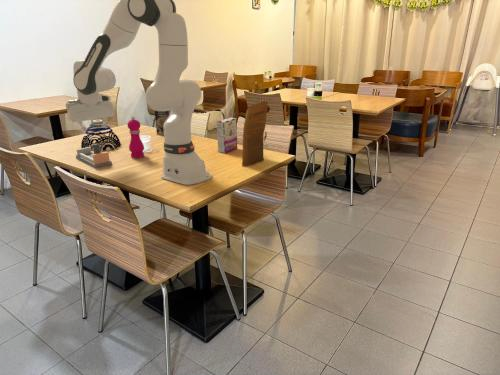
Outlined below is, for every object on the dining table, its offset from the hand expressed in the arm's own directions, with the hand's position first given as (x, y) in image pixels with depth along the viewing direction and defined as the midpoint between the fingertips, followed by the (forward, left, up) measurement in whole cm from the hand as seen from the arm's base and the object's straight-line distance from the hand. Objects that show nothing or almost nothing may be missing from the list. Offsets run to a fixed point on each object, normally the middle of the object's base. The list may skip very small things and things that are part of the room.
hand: (94, 129), depth 173 cm
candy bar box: (-26, -58, -17) cm, 65 cm away
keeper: (0, 0, -15) cm, 15 cm away
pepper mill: (-2, -19, -17) cm, 25 cm away
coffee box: (+30, -56, -17) cm, 66 cm away
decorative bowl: (+30, -15, -17) cm, 38 cm away
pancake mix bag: (-50, -53, -17) cm, 75 cm away
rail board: (+6, 0, -17) cm, 18 cm away
